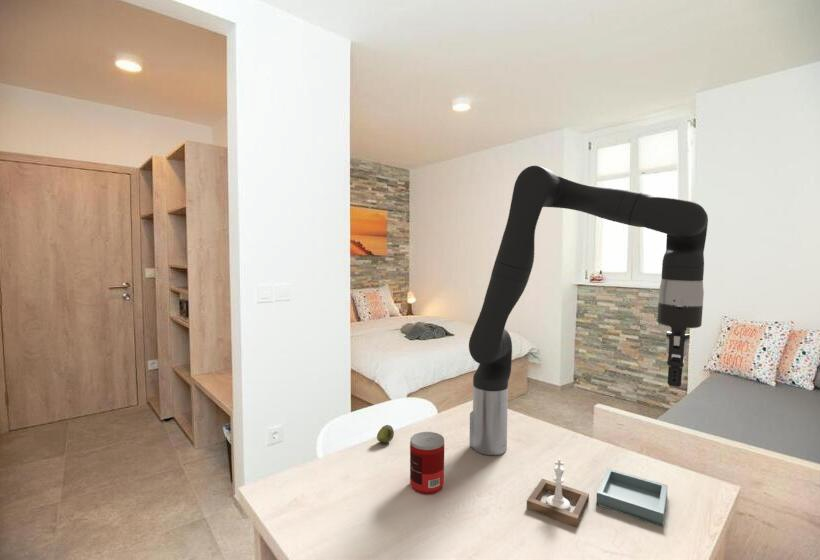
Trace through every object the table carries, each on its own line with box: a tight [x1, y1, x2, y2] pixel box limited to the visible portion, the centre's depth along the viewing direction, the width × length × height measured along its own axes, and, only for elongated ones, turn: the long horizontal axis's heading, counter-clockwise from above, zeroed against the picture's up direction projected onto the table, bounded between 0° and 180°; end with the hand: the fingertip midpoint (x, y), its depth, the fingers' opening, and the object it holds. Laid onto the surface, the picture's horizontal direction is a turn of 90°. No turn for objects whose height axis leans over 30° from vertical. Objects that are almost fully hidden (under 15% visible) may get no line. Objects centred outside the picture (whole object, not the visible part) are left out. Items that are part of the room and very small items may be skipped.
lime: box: [376, 424, 395, 444], centre depth 114 cm, size 4×5×5 cm
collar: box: [526, 478, 590, 528], centre depth 86 cm, size 10×10×2 cm
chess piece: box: [545, 458, 572, 512], centre depth 85 cm, size 5×5×10 cm
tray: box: [595, 467, 669, 527], centre depth 87 cm, size 12×12×3 cm
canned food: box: [409, 431, 445, 496], centre depth 93 cm, size 8×8×11 cm
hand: (674, 380), depth 84 cm, fingers open, 8 cm apart
